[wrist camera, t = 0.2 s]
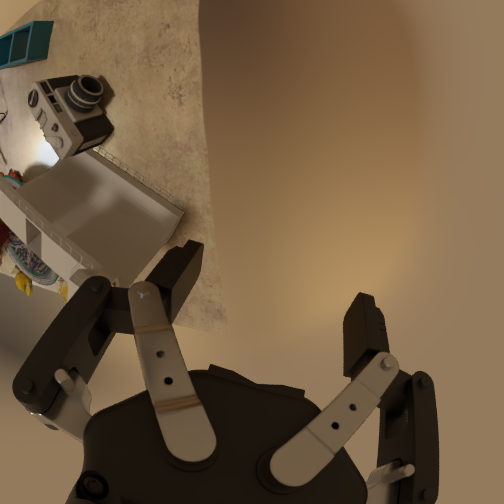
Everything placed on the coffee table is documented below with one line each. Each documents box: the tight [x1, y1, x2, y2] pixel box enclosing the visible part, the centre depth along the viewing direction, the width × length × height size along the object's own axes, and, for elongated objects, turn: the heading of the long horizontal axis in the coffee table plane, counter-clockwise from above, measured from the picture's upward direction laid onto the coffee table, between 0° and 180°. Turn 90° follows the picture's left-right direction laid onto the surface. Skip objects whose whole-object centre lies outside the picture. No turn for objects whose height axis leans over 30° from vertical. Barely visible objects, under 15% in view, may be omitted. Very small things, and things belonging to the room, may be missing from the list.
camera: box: [26, 75, 113, 160], centre depth 30 cm, size 14×9×10 cm, turn 27°
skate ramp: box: [0, 147, 187, 302], centre depth 31 cm, size 25×23×10 cm
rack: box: [0, 21, 54, 70], centre depth 26 cm, size 8×15×5 cm, turn 77°
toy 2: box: [11, 265, 32, 295], centre depth 58 cm, size 11×8×15 cm
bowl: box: [2, 175, 59, 285], centre depth 45 cm, size 25×25×10 cm
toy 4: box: [56, 279, 68, 303], centre depth 60 cm, size 20×3×10 cm
